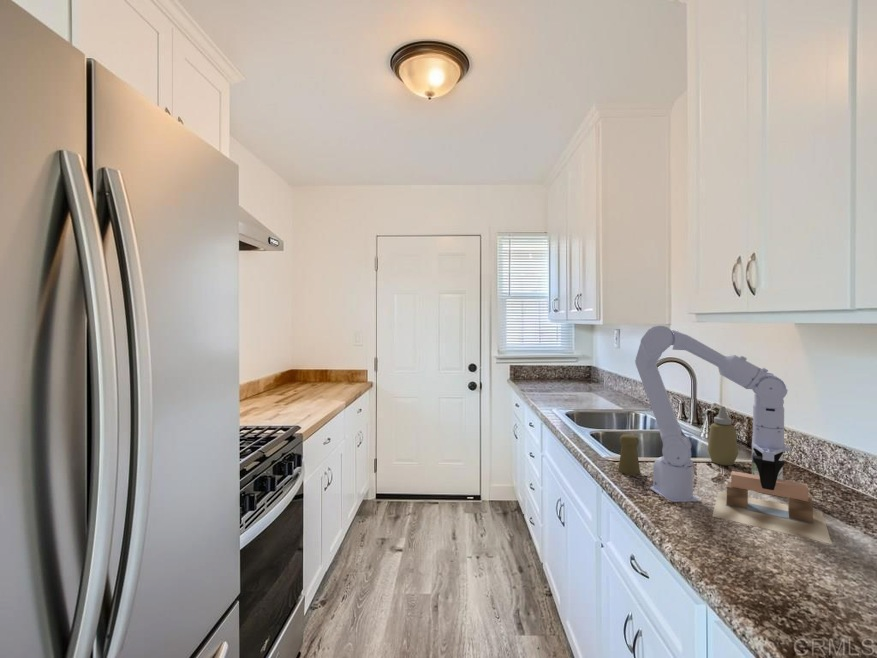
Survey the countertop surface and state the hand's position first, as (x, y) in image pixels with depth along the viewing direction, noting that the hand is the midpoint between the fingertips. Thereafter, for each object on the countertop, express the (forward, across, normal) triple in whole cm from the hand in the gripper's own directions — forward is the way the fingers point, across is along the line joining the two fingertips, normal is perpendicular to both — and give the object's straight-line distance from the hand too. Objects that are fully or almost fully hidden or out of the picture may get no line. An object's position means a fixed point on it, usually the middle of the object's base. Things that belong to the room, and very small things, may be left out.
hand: (767, 483), depth 99 cm
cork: (+7, +10, +33) cm, 35 cm away
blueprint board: (+7, -2, 0) cm, 7 cm away
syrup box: (+7, +18, 0) cm, 19 cm away
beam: (+2, 0, 0) cm, 2 cm away
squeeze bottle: (+7, +36, +11) cm, 39 cm away
